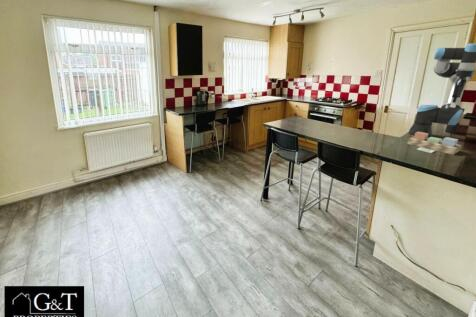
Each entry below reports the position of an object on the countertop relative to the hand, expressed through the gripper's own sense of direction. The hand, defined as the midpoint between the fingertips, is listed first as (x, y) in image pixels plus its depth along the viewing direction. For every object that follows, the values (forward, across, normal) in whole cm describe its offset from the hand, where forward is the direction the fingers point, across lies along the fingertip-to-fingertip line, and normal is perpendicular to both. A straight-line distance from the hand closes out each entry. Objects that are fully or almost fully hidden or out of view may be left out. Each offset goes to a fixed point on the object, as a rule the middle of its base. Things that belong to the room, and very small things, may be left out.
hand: (452, 107), depth 166 cm
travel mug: (+27, +46, +6) cm, 54 cm away
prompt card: (+25, -29, -1) cm, 38 cm away
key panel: (+25, -17, -1) cm, 31 cm away
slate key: (+22, -17, -9) cm, 29 cm away
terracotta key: (+22, -17, +7) cm, 29 cm away
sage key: (+24, -17, -1) cm, 30 cm away
